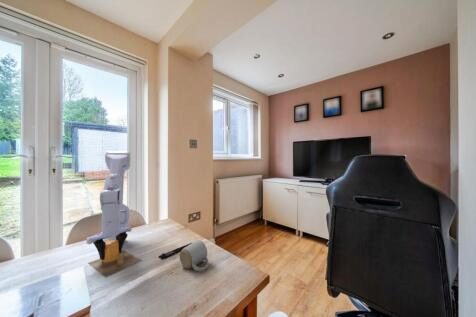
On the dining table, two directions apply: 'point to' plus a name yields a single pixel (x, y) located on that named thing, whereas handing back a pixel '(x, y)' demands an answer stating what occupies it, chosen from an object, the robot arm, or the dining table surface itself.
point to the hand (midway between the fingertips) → (110, 255)
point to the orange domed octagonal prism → (111, 250)
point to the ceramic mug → (194, 255)
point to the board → (115, 264)
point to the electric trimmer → (172, 252)
